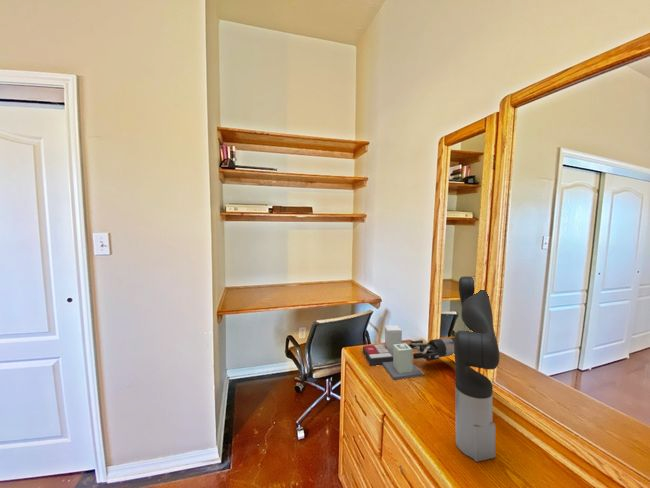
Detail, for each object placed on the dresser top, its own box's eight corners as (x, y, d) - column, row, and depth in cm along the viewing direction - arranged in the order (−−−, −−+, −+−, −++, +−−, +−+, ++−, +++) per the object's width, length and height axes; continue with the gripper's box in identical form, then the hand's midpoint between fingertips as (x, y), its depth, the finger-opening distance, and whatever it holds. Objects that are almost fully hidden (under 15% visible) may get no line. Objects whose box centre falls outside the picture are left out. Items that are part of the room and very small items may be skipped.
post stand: (422, 375, 113) (422, 347, 113) (393, 380, 111) (393, 351, 110) (406, 360, 127) (406, 334, 126) (381, 363, 125) (380, 337, 124)
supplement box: (402, 355, 132) (402, 330, 131) (387, 355, 133) (386, 330, 132) (399, 348, 139) (398, 324, 139) (384, 348, 140) (384, 325, 139)
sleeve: (412, 371, 115) (412, 349, 114) (399, 373, 114) (399, 350, 113) (405, 364, 121) (405, 343, 120) (393, 366, 120) (393, 344, 119)
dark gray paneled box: (383, 343, 139) (393, 355, 124) (383, 351, 139) (393, 364, 124) (362, 345, 138) (370, 357, 123) (362, 353, 138) (370, 366, 123)
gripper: (432, 333, 127) (400, 337, 124) (452, 346, 113) (416, 350, 110) (432, 348, 127) (401, 352, 124) (452, 363, 113) (417, 368, 110)
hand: (408, 351), depth 117 cm, fingers open, 8 cm apart
